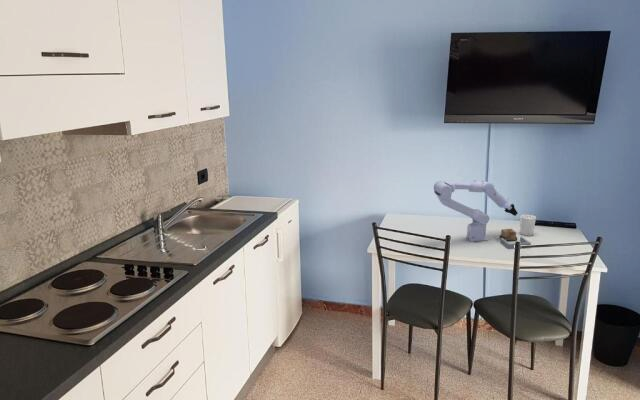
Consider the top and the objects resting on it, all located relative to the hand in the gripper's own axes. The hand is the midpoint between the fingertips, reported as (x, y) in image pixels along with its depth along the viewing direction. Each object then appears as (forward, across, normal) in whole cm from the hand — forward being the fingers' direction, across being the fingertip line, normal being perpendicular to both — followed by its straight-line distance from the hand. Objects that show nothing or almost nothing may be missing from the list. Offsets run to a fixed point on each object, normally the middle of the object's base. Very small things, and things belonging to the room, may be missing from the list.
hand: (512, 211), depth 271 cm
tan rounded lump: (+5, -7, +13) cm, 16 cm away
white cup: (+16, -1, +4) cm, 17 cm away
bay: (+5, -15, +13) cm, 20 cm away
